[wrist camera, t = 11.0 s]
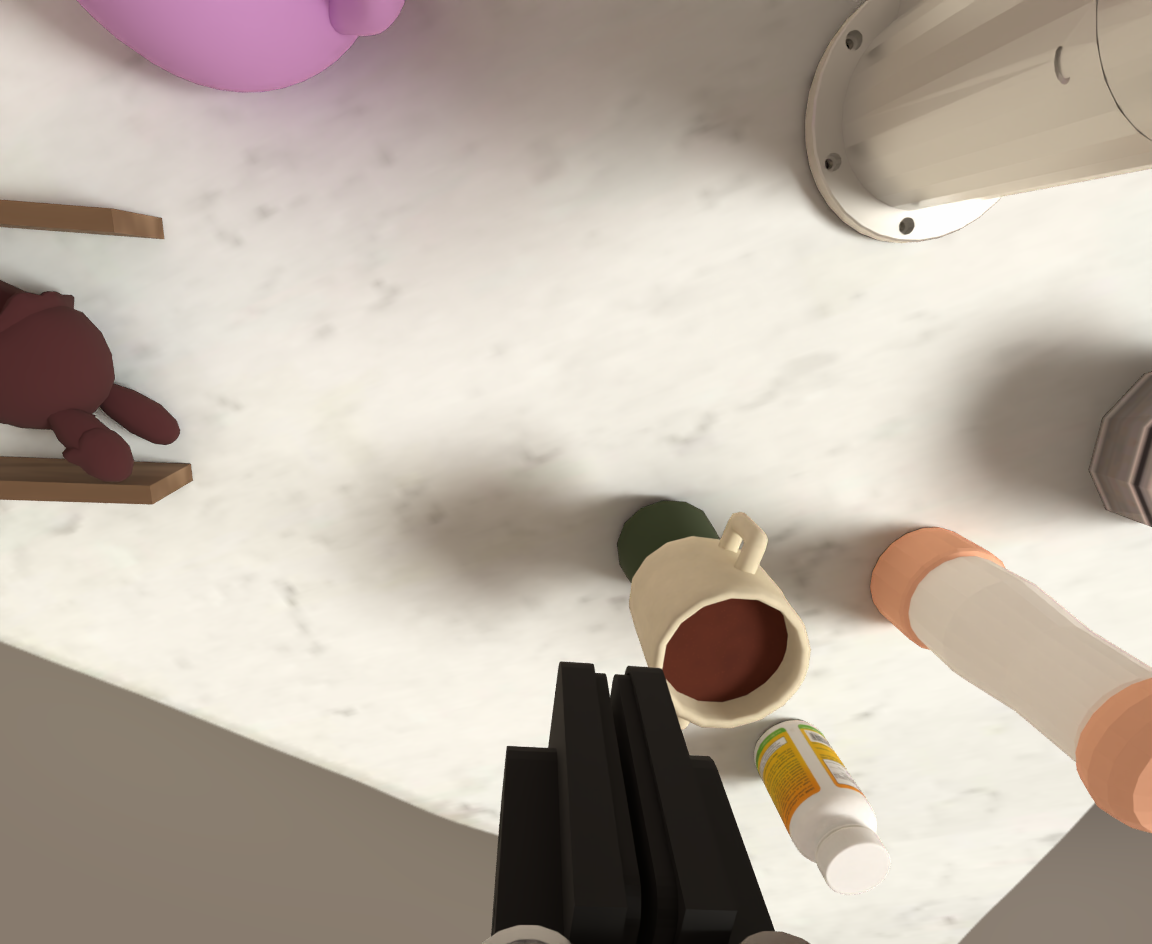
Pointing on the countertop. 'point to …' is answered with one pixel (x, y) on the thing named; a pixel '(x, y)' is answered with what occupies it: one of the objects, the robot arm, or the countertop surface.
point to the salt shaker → (1027, 660)
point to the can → (1126, 454)
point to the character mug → (711, 615)
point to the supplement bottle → (822, 806)
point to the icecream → (70, 384)
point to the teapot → (243, 36)
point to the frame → (58, 475)
